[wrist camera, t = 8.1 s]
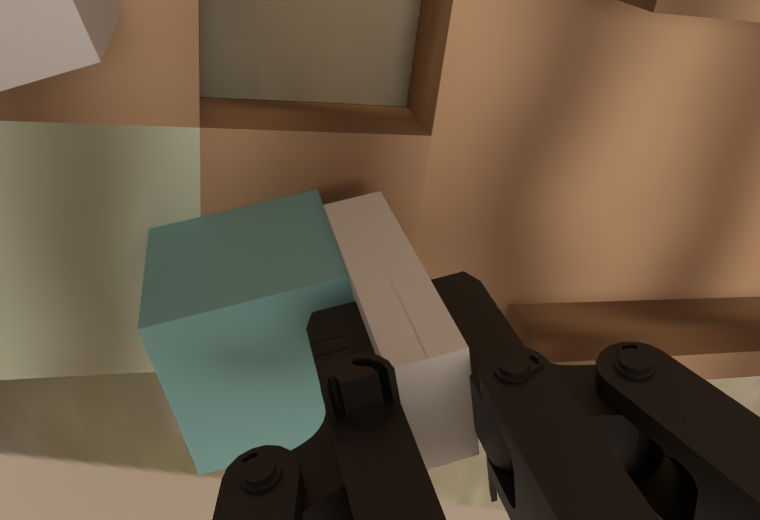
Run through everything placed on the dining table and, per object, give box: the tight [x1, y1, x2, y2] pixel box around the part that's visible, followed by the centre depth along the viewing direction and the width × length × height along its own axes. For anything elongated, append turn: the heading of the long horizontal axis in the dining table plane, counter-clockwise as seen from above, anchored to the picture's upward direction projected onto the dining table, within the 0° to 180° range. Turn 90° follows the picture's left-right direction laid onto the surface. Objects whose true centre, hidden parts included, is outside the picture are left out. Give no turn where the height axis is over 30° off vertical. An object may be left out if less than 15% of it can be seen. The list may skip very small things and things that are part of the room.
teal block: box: [137, 189, 354, 476], centre depth 18 cm, size 4×4×4 cm
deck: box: [0, 0, 760, 380], centre depth 19 cm, size 34×14×6 cm, turn 83°
